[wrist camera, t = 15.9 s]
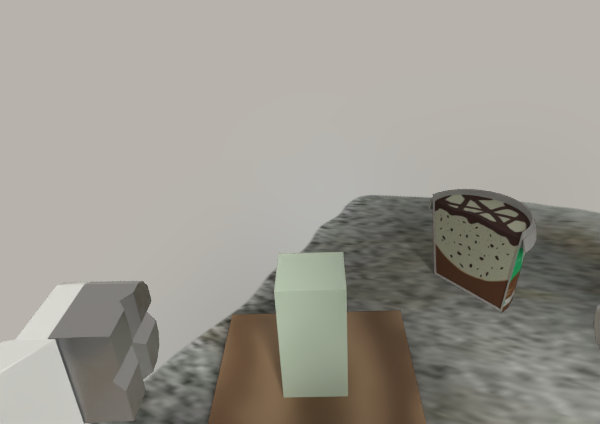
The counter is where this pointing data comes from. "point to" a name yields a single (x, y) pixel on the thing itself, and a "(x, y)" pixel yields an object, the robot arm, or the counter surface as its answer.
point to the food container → (481, 242)
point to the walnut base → (318, 410)
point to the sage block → (312, 324)
